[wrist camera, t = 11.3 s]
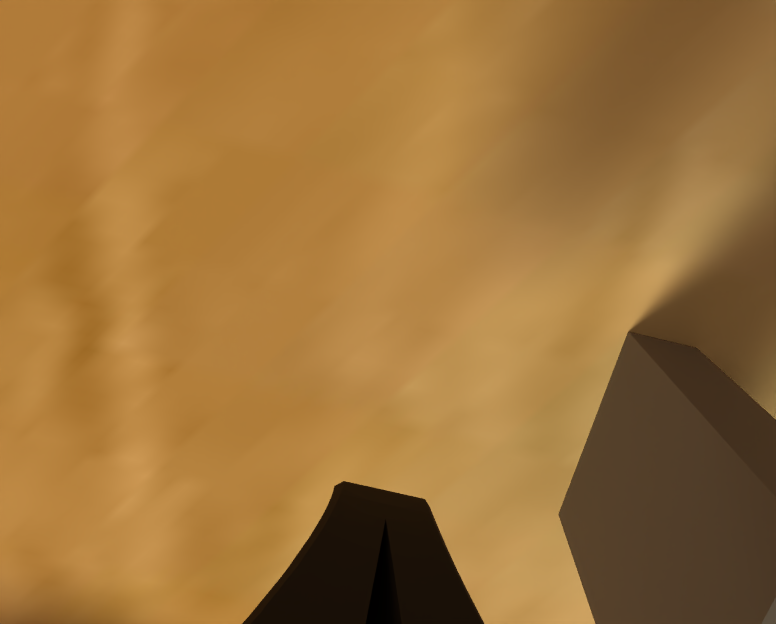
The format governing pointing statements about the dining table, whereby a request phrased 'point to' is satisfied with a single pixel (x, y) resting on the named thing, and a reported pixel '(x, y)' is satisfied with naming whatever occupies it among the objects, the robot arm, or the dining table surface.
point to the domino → (675, 495)
